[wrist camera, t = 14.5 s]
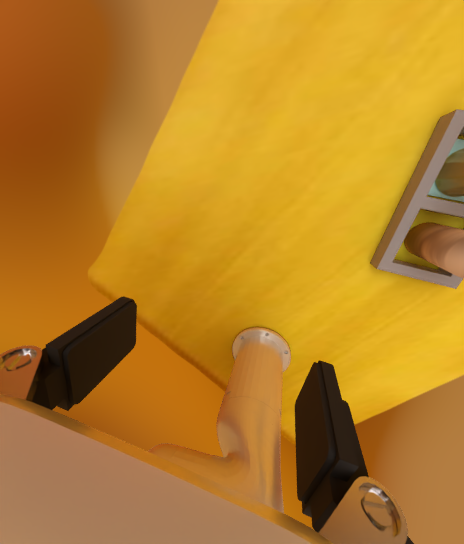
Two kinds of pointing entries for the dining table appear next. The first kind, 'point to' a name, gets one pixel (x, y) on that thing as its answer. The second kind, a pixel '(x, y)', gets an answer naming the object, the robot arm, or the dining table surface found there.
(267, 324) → the dining table surface
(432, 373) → the dining table surface
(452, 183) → the vase
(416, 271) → the slot rack
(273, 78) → the dining table surface
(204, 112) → the dining table surface
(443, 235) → the walnut peg
